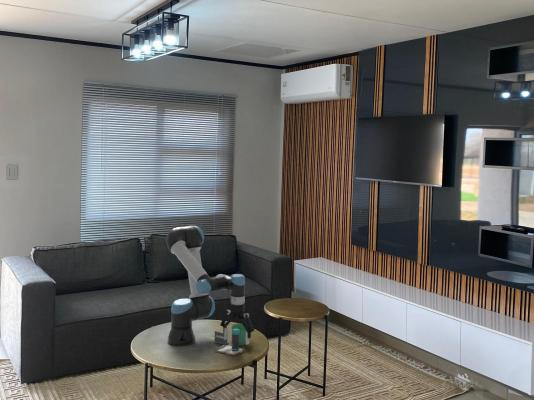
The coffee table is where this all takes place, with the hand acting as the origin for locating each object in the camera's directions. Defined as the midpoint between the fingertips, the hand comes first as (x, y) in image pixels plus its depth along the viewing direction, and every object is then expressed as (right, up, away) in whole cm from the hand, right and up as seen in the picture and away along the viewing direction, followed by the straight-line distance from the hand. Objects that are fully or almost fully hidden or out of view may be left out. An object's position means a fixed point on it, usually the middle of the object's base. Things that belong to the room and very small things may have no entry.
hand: (236, 341), depth 309 cm
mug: (+2, -4, +14) cm, 15 cm away
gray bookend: (-10, -4, +12) cm, 16 cm away
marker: (-1, -4, -1) cm, 5 cm away
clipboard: (-3, -5, 0) cm, 6 cm away
